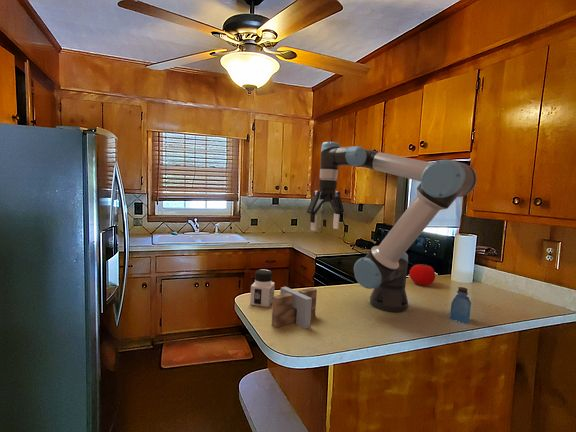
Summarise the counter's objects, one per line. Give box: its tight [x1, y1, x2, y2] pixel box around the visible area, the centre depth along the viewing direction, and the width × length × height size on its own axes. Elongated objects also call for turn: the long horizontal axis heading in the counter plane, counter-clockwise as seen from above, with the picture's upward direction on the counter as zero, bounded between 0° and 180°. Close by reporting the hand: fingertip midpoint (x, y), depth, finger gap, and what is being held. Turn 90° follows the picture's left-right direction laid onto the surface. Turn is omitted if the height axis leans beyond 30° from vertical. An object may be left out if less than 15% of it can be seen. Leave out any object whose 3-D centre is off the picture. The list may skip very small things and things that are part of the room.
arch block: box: [279, 286, 312, 329], centre depth 118 cm, size 14×2×10 cm, turn 39°
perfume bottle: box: [449, 286, 472, 324], centre depth 127 cm, size 6×6×12 cm
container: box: [249, 268, 275, 308], centre depth 133 cm, size 8×8×13 cm
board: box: [271, 287, 318, 328], centre depth 118 cm, size 18×2×10 cm, turn 129°
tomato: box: [408, 263, 436, 287], centre depth 170 cm, size 11×12×10 cm
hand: (324, 229), depth 144 cm, fingers open, 13 cm apart
